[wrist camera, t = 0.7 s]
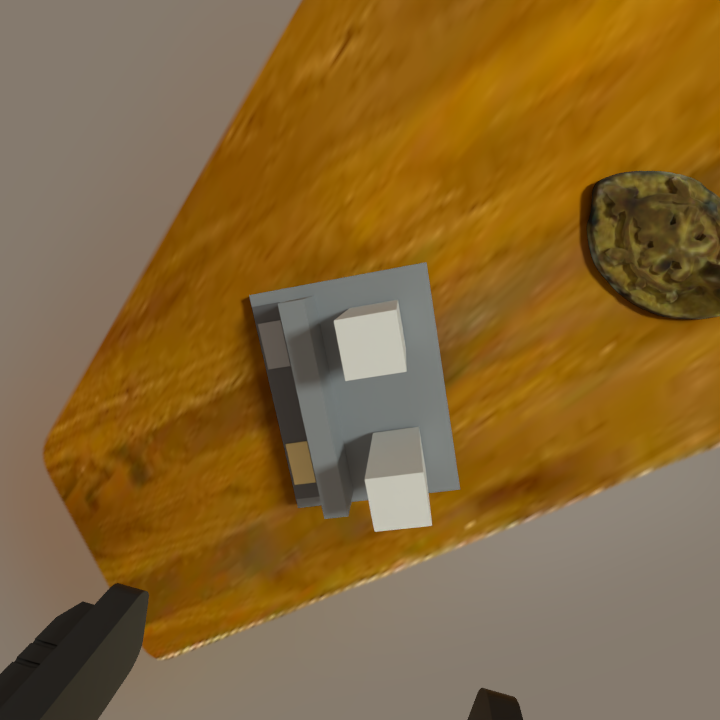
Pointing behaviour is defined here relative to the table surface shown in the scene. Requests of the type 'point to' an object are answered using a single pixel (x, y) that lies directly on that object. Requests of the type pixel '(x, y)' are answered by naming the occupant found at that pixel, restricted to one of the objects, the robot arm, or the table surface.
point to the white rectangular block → (371, 340)
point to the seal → (658, 242)
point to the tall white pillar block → (397, 481)
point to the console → (352, 385)
